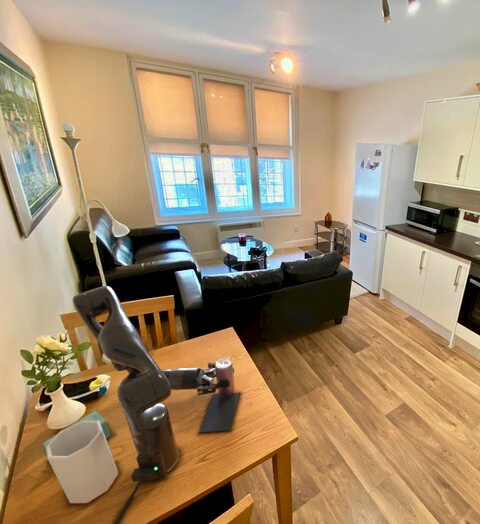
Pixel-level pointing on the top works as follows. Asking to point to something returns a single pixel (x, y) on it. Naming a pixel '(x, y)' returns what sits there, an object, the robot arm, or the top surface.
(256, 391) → the top surface
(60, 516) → the top surface
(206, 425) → the mat
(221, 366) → the beverage can
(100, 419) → the box
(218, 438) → the top surface
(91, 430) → the cup
